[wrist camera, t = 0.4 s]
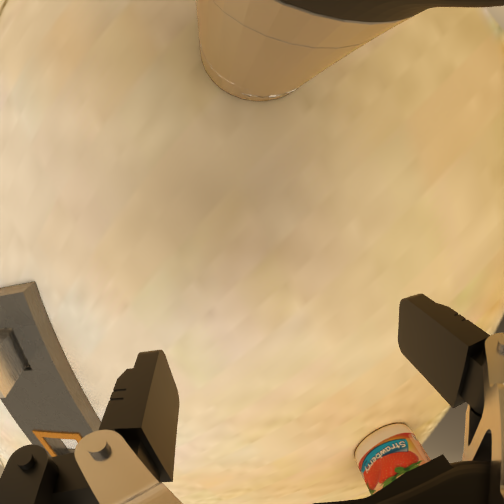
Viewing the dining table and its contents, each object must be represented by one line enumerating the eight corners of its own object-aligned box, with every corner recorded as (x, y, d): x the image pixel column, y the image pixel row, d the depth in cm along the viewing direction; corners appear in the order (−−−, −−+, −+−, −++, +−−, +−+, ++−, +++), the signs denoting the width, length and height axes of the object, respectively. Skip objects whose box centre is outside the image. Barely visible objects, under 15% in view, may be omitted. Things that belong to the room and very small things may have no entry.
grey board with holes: (-36, 295, 25) (-49, 305, 22) (34, 281, 26) (22, 292, 23) (60, 460, 34) (56, 473, 31) (129, 464, 34) (126, 479, 32)
